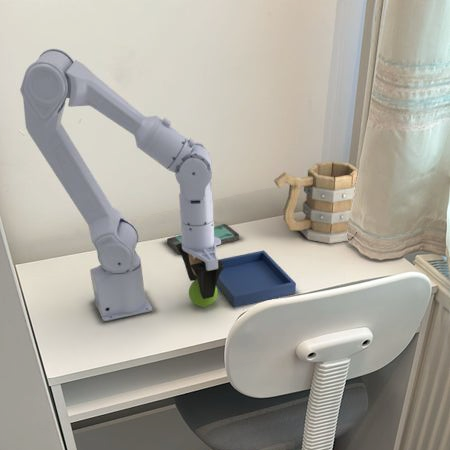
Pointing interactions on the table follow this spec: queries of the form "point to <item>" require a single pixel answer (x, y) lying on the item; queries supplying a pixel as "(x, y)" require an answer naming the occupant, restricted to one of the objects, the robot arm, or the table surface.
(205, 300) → the snail figurine
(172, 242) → the smartphone
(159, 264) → the table surface
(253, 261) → the tray
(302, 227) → the tankard
